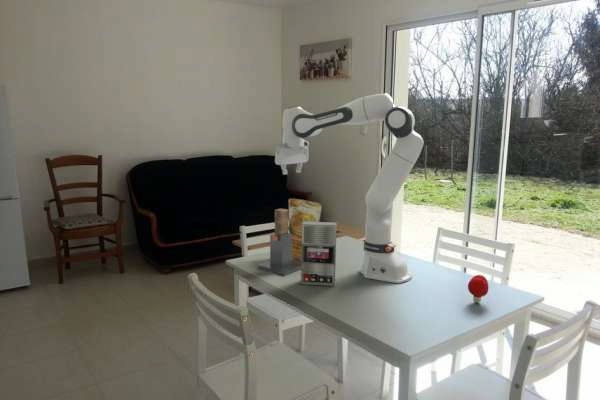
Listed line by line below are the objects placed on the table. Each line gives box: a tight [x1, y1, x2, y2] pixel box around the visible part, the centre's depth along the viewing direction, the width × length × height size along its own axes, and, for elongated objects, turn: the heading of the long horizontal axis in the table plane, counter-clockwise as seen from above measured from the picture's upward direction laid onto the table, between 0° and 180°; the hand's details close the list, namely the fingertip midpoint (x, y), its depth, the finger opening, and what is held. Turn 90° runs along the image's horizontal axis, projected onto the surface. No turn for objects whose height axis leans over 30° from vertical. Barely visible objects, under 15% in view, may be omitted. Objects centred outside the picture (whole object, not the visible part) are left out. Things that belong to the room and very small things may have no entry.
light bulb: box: [467, 274, 489, 304], centre depth 170 cm, size 9×7×10 cm
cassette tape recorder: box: [300, 221, 338, 287], centre depth 187 cm, size 14×6×25 cm, turn 83°
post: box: [273, 208, 289, 236], centre depth 204 cm, size 4×4×20 cm
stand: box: [257, 232, 301, 277], centre depth 206 cm, size 16×14×16 cm
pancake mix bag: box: [288, 198, 323, 260], centre depth 220 cm, size 7×19×28 cm, turn 48°
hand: (291, 173), depth 211 cm, fingers open, 8 cm apart
